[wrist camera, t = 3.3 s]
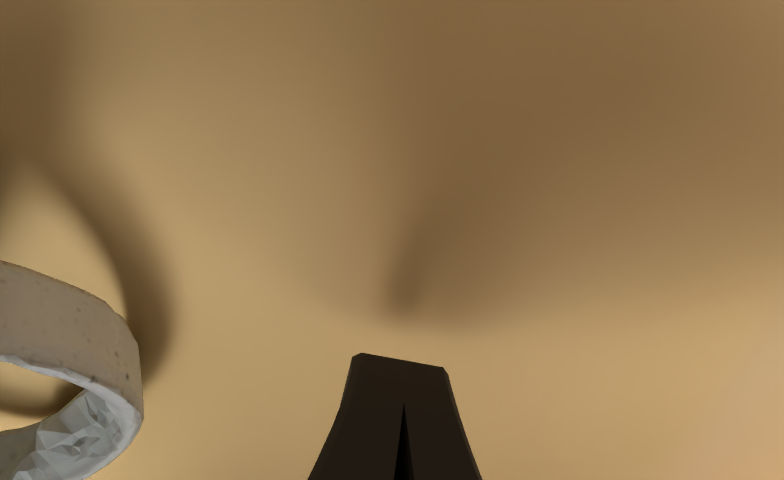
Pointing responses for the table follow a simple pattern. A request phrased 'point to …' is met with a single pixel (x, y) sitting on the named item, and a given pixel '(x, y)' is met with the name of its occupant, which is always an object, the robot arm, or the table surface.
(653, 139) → the table surface
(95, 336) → the ceramic mug
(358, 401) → the robot arm
